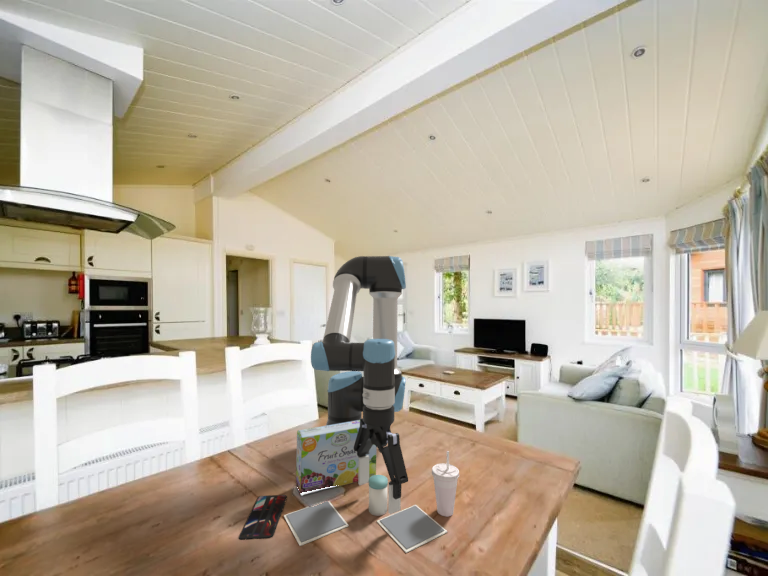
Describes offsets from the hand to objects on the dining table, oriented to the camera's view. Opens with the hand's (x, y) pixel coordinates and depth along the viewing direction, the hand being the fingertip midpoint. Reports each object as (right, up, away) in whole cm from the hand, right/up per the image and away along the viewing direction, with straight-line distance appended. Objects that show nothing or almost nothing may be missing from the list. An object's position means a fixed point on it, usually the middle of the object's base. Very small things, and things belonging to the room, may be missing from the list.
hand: (378, 496), depth 80 cm
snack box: (-11, -4, +12) cm, 17 cm away
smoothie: (+16, -4, 0) cm, 16 cm away
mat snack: (-14, -3, -4) cm, 15 cm away
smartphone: (-26, -4, -2) cm, 26 cm away
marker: (0, -3, 0) cm, 3 cm away
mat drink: (+7, -3, -6) cm, 10 cm away
